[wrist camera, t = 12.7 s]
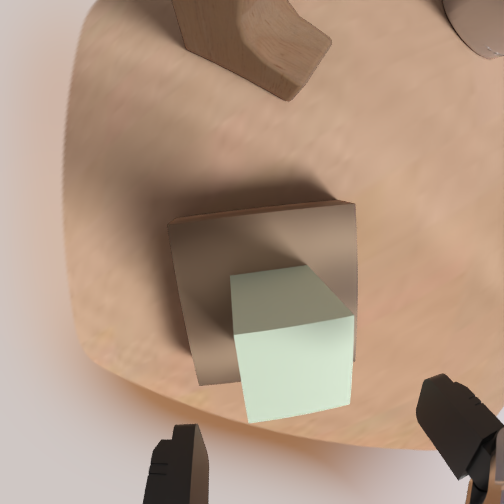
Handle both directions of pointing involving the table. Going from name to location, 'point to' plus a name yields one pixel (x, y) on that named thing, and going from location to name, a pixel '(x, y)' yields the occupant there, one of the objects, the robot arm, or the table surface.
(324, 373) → the green block
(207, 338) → the brown tapered block
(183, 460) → the robot arm
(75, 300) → the table surface
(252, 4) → the wooden block
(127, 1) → the table surface
